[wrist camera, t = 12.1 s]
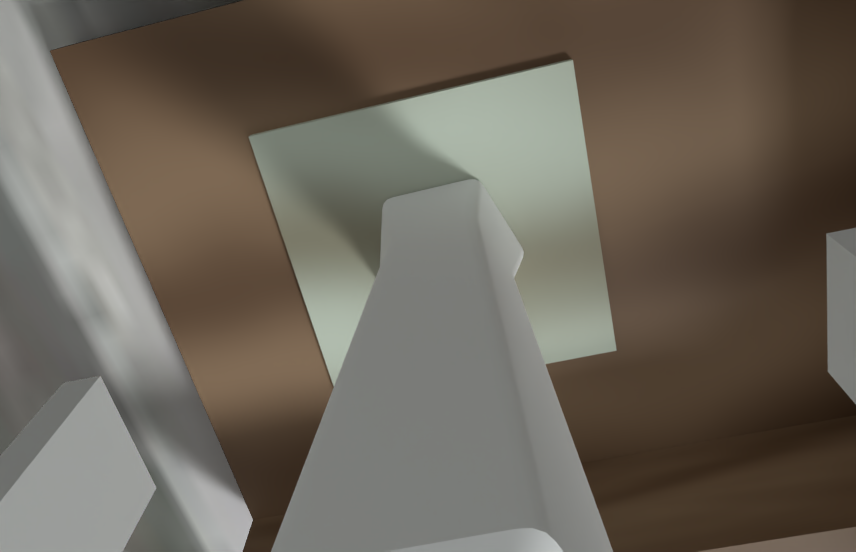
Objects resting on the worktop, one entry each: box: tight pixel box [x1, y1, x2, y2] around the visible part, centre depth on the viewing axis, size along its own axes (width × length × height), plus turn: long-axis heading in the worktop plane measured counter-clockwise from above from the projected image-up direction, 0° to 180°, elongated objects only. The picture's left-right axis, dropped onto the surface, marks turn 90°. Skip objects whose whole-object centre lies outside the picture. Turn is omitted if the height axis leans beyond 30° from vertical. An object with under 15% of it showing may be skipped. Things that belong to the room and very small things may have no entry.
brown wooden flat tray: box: [50, 0, 856, 552], centre depth 18 cm, size 16×20×5 cm
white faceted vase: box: [271, 179, 613, 552], centre depth 12 cm, size 5×4×15 cm
